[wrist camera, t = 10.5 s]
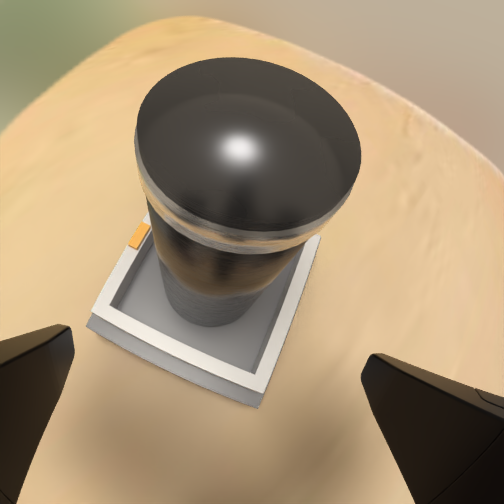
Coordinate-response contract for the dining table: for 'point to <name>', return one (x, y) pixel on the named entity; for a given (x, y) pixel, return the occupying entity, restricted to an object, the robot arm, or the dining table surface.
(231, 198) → the dark tapered cup
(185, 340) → the shallow square tray
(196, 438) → the dining table surface
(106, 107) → the dining table surface
